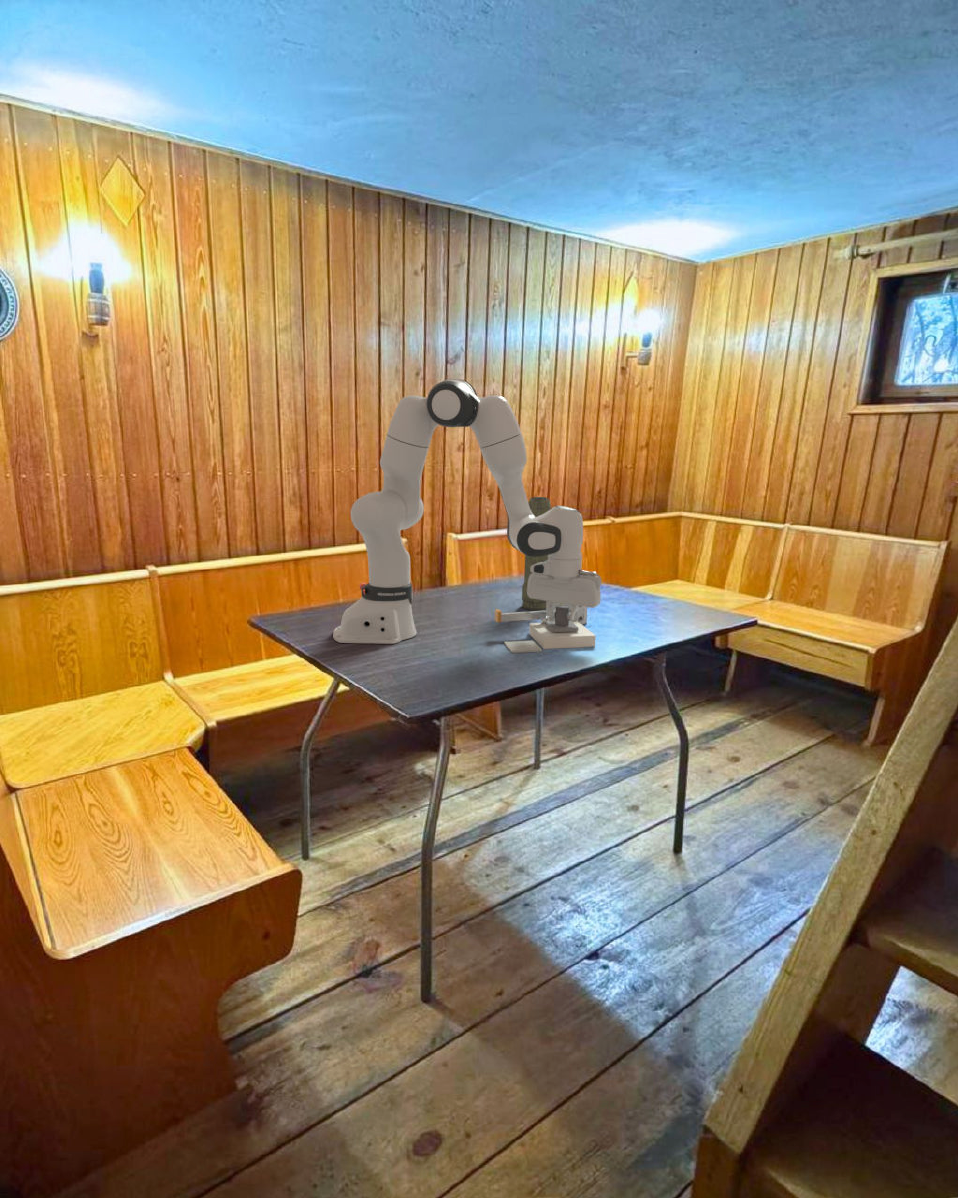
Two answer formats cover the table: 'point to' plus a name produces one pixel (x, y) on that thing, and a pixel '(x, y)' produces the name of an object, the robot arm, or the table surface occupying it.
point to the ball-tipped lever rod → (521, 616)
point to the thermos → (537, 508)
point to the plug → (561, 621)
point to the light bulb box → (579, 615)
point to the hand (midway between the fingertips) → (562, 618)
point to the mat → (522, 646)
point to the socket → (561, 637)
